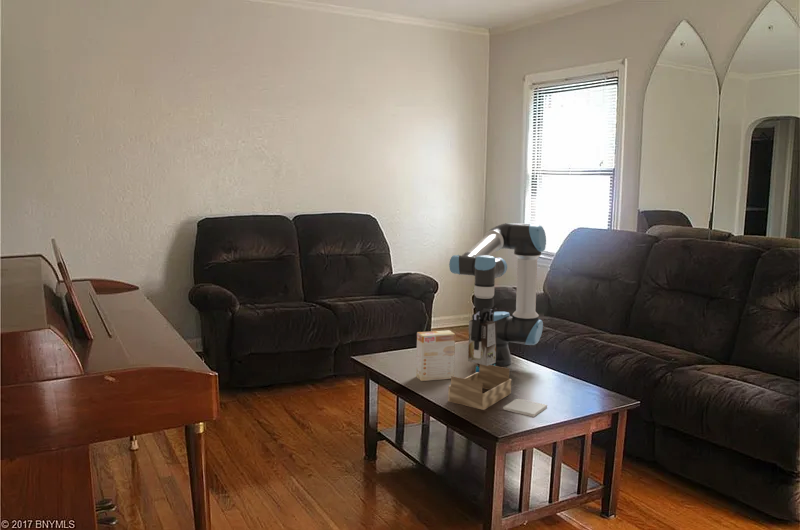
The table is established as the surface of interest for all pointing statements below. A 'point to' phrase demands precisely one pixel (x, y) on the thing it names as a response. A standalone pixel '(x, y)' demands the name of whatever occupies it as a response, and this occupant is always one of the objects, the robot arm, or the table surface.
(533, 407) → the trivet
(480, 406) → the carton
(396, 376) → the table surface
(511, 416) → the table surface
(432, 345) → the coffeecake box
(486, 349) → the coffee box
